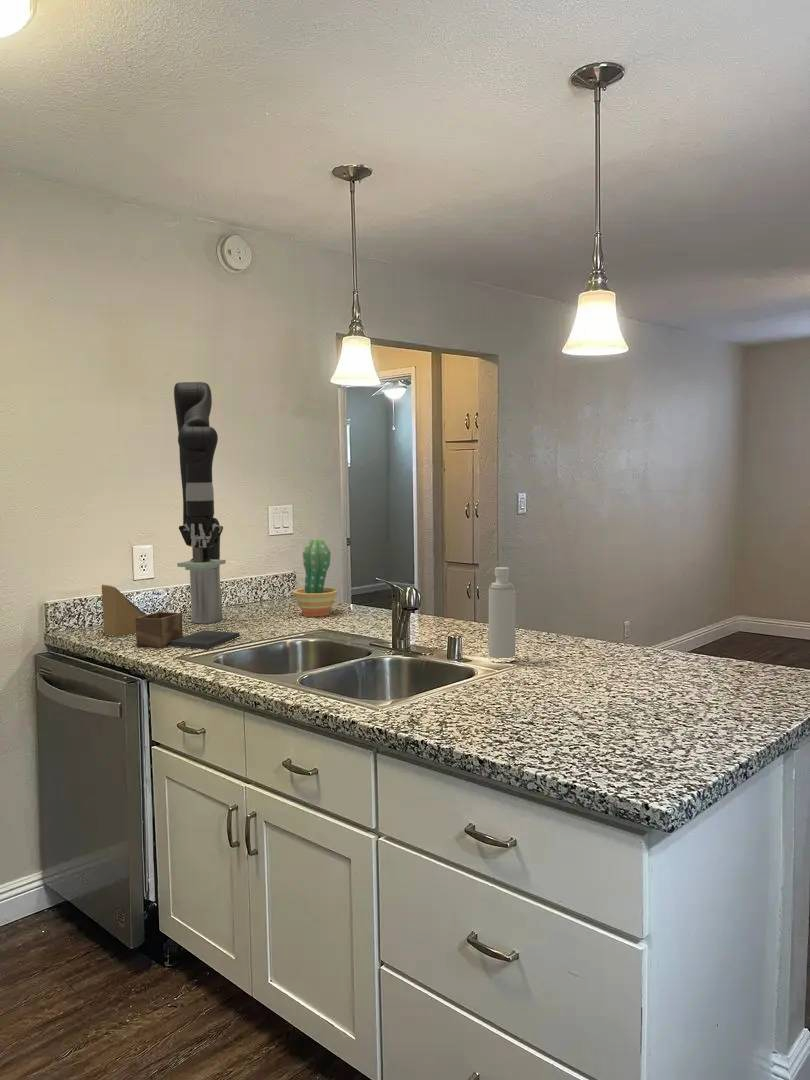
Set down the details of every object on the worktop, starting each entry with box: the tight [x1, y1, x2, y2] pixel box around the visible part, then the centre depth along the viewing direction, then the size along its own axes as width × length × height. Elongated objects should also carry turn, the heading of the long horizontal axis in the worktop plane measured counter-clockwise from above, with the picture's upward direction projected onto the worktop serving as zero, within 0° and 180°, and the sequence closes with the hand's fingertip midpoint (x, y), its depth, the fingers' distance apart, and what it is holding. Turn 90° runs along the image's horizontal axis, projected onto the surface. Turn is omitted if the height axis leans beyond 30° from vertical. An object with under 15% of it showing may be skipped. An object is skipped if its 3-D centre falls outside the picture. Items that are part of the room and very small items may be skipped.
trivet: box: [170, 629, 240, 650], centre depth 230 cm, size 16×12×2 cm
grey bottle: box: [488, 566, 517, 658], centre depth 205 cm, size 7×7×25 cm
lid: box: [176, 546, 227, 571], centre depth 228 cm, size 11×9×6 cm
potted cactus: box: [292, 539, 339, 617], centre depth 271 cm, size 15×15×25 cm
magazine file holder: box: [101, 584, 147, 638], centre depth 245 cm, size 9×15×15 cm, turn 135°
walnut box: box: [135, 611, 184, 649], centre depth 228 cm, size 10×8×8 cm
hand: (201, 560), depth 228 cm, fingers closed on lid, 2 cm apart
